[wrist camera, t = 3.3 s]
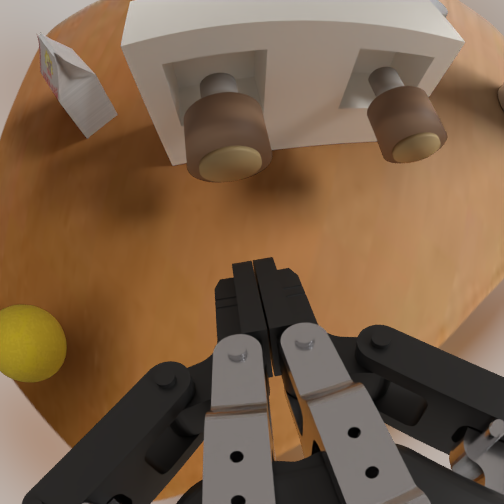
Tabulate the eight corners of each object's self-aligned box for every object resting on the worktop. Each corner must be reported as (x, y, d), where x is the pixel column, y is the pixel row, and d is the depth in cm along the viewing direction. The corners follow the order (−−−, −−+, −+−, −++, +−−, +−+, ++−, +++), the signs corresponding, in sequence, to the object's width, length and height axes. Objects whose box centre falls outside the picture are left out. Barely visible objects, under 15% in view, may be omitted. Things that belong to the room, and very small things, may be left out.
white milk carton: (91, 84, 27) (56, 20, 18) (117, 114, 26) (77, 41, 16) (64, 105, 27) (22, 45, 17) (87, 138, 26) (37, 71, 16)
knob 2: (398, 97, 20) (420, 58, 16) (428, 165, 18) (461, 132, 14) (346, 96, 20) (362, 53, 15) (374, 169, 18) (401, 130, 14)
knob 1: (253, 102, 19) (254, 55, 15) (271, 180, 18) (276, 138, 14) (187, 112, 19) (175, 66, 15) (195, 192, 18) (179, 152, 14)
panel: (379, 99, 27) (428, -1, 14) (398, 140, 25) (465, 42, 13) (169, 118, 26) (130, 1, 13) (172, 165, 25) (120, 46, 12)
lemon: (88, 376, 21) (26, 391, 13) (37, 375, 20) (-27, 384, 13) (80, 306, 22) (17, 294, 14) (30, 311, 22) (-35, 300, 14)
